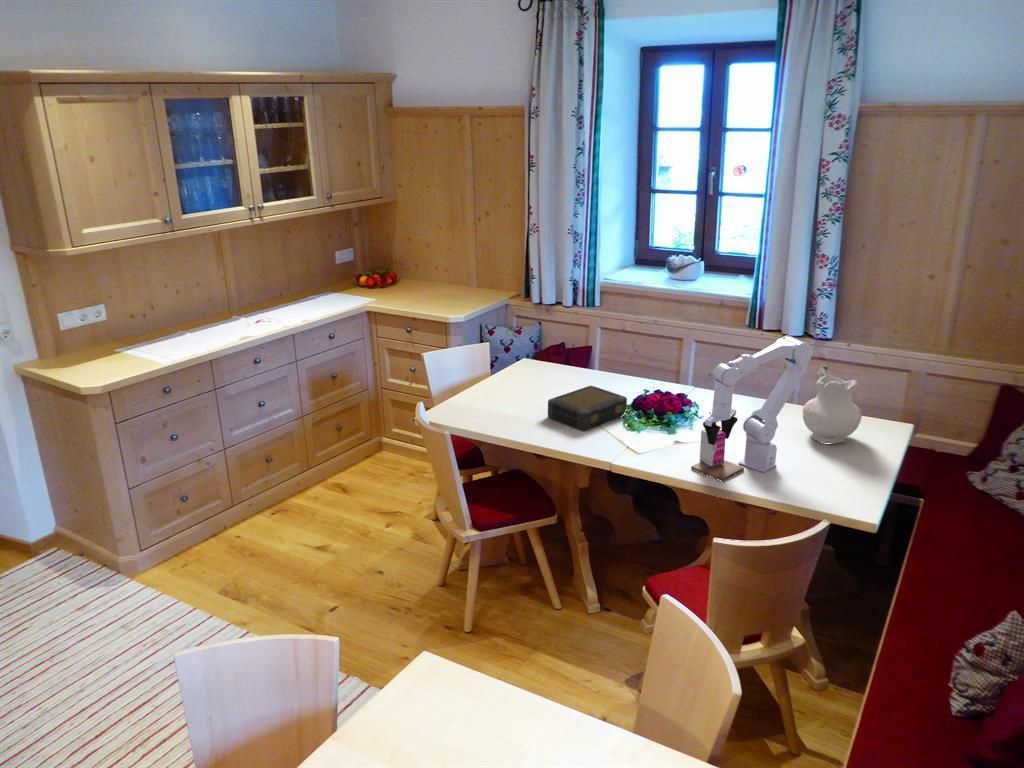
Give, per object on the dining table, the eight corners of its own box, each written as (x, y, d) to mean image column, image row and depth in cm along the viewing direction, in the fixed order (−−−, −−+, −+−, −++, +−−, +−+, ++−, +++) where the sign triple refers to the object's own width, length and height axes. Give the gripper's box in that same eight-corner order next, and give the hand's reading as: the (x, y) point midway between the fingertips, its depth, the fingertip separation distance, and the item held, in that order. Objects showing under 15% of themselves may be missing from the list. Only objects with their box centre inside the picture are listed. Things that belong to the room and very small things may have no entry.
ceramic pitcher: (785, 431, 291) (789, 368, 282) (830, 421, 296) (835, 358, 287) (824, 454, 272) (829, 387, 263) (871, 443, 277) (877, 377, 268)
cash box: (589, 401, 318) (589, 383, 316) (628, 415, 304) (628, 396, 301) (544, 417, 302) (545, 399, 300) (583, 433, 288) (584, 413, 286)
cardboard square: (743, 473, 258) (744, 467, 257) (722, 484, 250) (722, 478, 250) (712, 461, 266) (713, 456, 266) (691, 471, 259) (691, 466, 258)
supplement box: (710, 468, 257) (711, 436, 253) (699, 461, 262) (700, 429, 258) (724, 464, 259) (726, 432, 255) (713, 457, 264) (714, 425, 260)
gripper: (724, 393, 257) (720, 431, 262) (698, 403, 248) (694, 443, 253) (743, 398, 252) (739, 437, 257) (717, 409, 243) (713, 449, 248)
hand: (718, 440), depth 254 cm, fingers open, 7 cm apart
